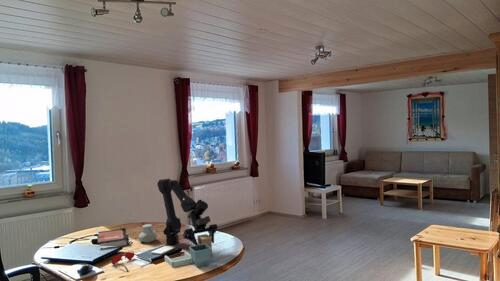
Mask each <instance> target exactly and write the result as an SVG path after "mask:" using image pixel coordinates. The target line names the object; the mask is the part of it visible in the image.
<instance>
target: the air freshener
mask: <svg viewBox="0 0 500 281" xmlns="http://www.w3.org/2000/svg"><path fill="white" fill-rule="evenodd" d="M157 237H158V235H157V232H155V231H154V230H153V225H152V224H149V223H148V224H147V223H146V224H144V225H142V232H141V233H140V234H139V235H138V239H139V241H140V242H141V243H146V244H147V243H152V242H154V241H155V240H157Z"/></svg>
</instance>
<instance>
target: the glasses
mask: <svg viewBox="0 0 500 281" xmlns="http://www.w3.org/2000/svg"><path fill="white" fill-rule="evenodd" d="M122 255H123V257H122ZM135 256H136V257H139V258H142V259H145V260H147V262H149V264H150V265H153V263H152V262H151V261H150V259H149V258H147V257H144V256H142V255H139V254H136V253H135V252H134V251H133V250H131V251H127V252H124V253H121V254H118V255H114V256H112V258H111V260H110V263H111V264H112V265H113V266H115V265H119V266H122V267H124V268H125V269H126V272H127V273H130V271H129V269H128V268H127V267H126V265H123V264H120V263H119V262H120V261H123V258H124V259H126V260H127V259H128V260H129V261H131V260H132V259H133V258H134V257H135Z"/></svg>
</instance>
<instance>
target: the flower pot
mask: <svg viewBox="0 0 500 281" xmlns="http://www.w3.org/2000/svg"><path fill="white" fill-rule="evenodd" d="M188 248H189V254H190V255H191V258H192V261H193V262H194V263H193V264H194V265H195V266H196V268H200V267H205V266H208V264H210V262H211V258H210V257H211V248H210V247H209V246H207V245H206V244H201V245H191V246H189V247H188Z"/></svg>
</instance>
